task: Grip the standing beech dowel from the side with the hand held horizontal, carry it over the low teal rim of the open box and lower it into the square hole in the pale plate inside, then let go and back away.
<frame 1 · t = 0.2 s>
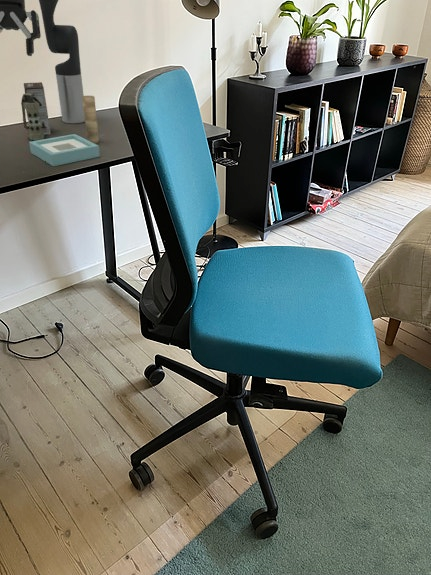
hand: (12, 54, 122), 31 cm above the table, tool tilted 20°, fingers open, 8 cm apart
socket box: (65, 154, 151), on the table
grenade model: (36, 138, 165), on the table
coffee box: (41, 132, 172), on the table
peg: (93, 142, 164), on the table
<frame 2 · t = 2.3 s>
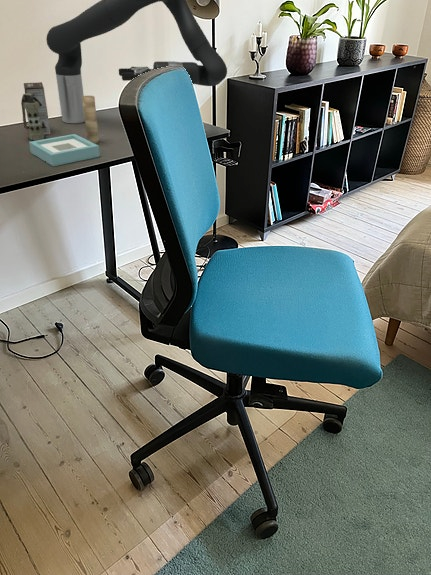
hand: (120, 74, 154), 22 cm above the table, tool horizontal, fingers open, 8 cm apart
nothing on the table moved.
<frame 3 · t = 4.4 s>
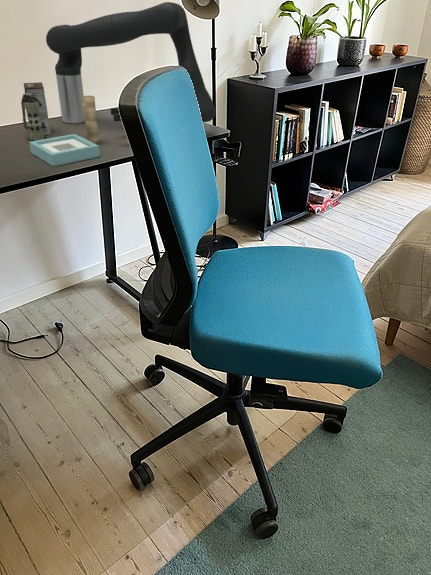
hand: (112, 114, 160), 9 cm above the table, tool horizontal, fingers open, 8 cm apart
nothing on the table moved.
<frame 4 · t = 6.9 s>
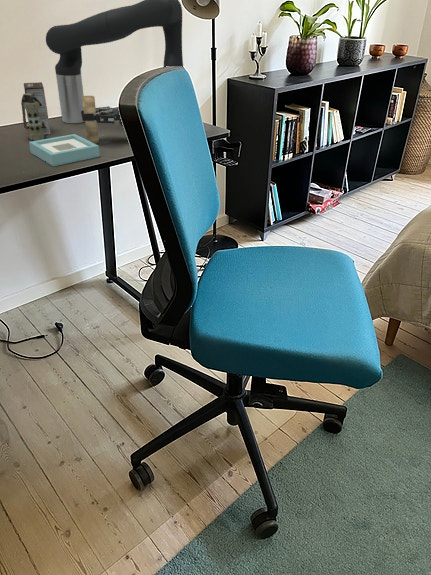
hand: (82, 115, 158), 9 cm above the table, tool horizontal, fingers closed on peg, 4 cm apart
peg: (93, 142, 163), on the table, touching gripper
everything else where it was.
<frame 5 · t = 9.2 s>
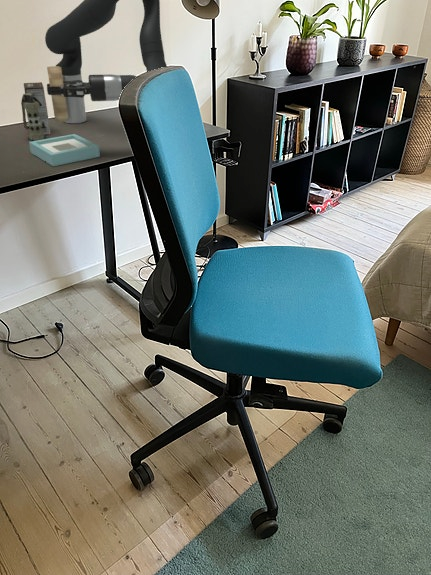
hand: (47, 89, 140), 20 cm above the table, tool horizontal, fingers closed on peg, 4 cm apart
peg: (61, 119, 145), point 11 cm above the table, touching gripper
everything else where it was.
when the fingers open (10 cm above the table, at t = 11.8 s): peg drops 1 cm, resting in socket box.
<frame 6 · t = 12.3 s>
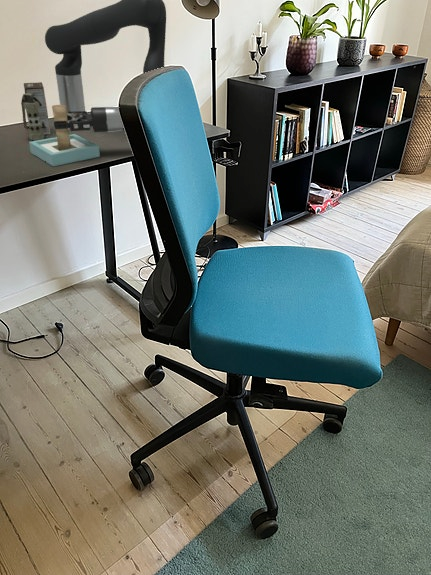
hand: (54, 121, 145), 11 cm above the table, tool horizontal, fingers open, 8 cm apart
peg: (65, 154, 151), resting in socket box
everything else where it was.
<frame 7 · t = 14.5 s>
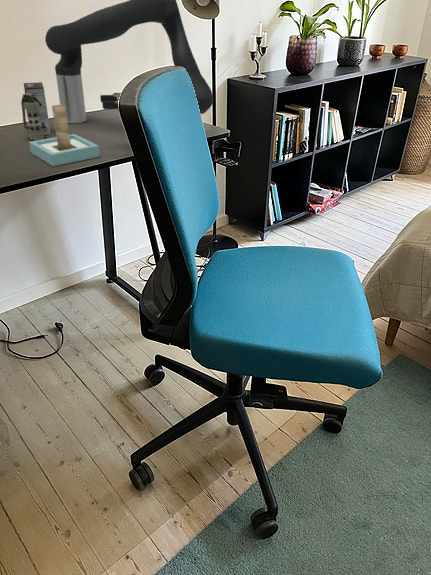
hand: (101, 102, 148), 15 cm above the table, tool horizontal, fingers open, 8 cm apart
nothing on the table moved.
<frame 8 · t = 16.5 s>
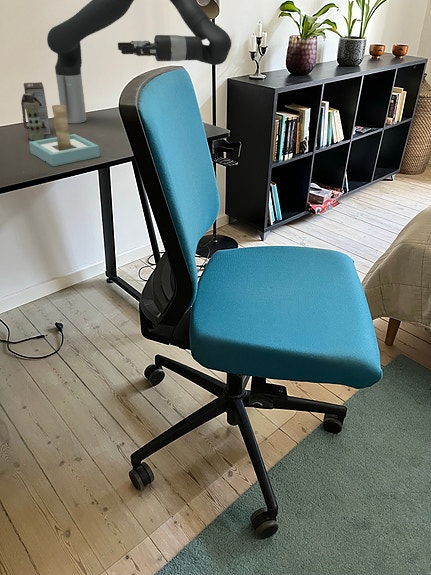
hand: (119, 48, 147), 30 cm above the table, tool horizontal, fingers open, 8 cm apart
nothing on the table moved.
at the end: peg 0.1 cm off-centre on the socket box, point 0.0 cm above the socket box's base; peg tilted 0°; the gripper is holding nothing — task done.
